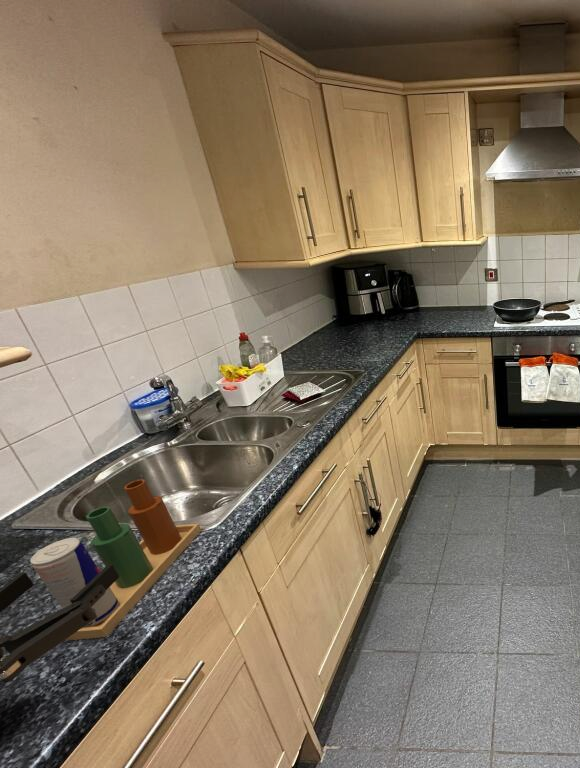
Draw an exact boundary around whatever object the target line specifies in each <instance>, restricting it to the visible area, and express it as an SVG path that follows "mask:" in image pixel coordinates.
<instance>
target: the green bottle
mask: <svg viewBox="0 0 580 768" xmlns="http://www.w3.org/2000/svg"><path fill="white" fill-rule="evenodd" d="M85 518H86V520H87V521H88V523H89V525H90V527H91V528H92V530H93V531H94V533H95V536H94V537H93V538H92V540H91V541H90V542H91V546H92V547H93V549H94V551H95V552H96V554H97V556H98V557H99V559H100V560H101V562H102V563H103V565H104V568H105V567H106V566H107V565H113V567H114V568H115V570H116V572H117V573H118V575H119V578H118V579H117V580H116V581H115V583H116V585H117V586H118V587H119V588H129V587H132V586H135V585H137V584H139V583H141V582H142V581H143V580H144V579H145V578H146V577H147V576H148V575H149V574H150V573H151V572H152V571H153V567H152V565H151V563H150V562H149V560H148V558H147V556H146V554H145V553H144V551H143V549H142V547H141V545H140V541H139V540H138V538H137V536H136V535H135V532H134V530H133V529H132V527H131V526H130V524H128V523H119V521H118V520H117V517H116V516H115V514H114V513H113V511H112V509H111V507H109V506H101V507H99V508H96V509H94V510H92V511H90V512H89V513H88V514H86V516H85Z"/></svg>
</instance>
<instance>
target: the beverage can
mask: <svg viewBox="0 0 580 768" xmlns="http://www.w3.org/2000/svg"><path fill="white" fill-rule="evenodd" d="M29 561H30V564H32V568H33V569H34V571H35V572H36V574H37V575H38V577H39V578H40V579H41V580H42V582H43V583H44V585H45V587H46V588H47V589H48V591H49V592H50V593H51V594H52V596H53V597H54V599H55V601H57V603H58V605H59V606H60V607H61V609H63V608H65V607H67V606H69V605H70V604H72V603H71V602H70V600H71V599H72V598H73V597H74V596H75V595H76V594H77V593H78V592H79V591H80V590H82V589H83V588H84V587H85V586H86V585H87V584H88V583H89V582H90V581H91V580H92V579H93V578H94V577H95V576H96V575H98V574H99V573H100V572H101V571H100V569H99V568H98V566H97V564H96V563H95V561H94V560H93V558H92V556H91V555H90V553H89V551H88V550H87V548H86V547H85V545H84V543H82V542H81V541H80V539H79V538H77V537H69V538H64V539H60V540H57V541H55V542H53V543H50V544H48V545H46V546H44V547H43V548H41V549H39V550H38V551H37V552H36V553H34V554H33V555H32V556H31V558H30V560H29ZM118 605H119V601H118V599H117V598H116V596H115V595H114V593H113V591H112V590H111V588H110V587H109V588H108V589H107V590H106V592H105V594H104V595H103V596H102V597H101V598H100V599H99V600H98V601H97V602H96V603H95V604H94V605H93V606H92V609H93V610H94V612H95V614H96V615H97V617H96V618H95V619H94V620H93V621H91V622H90V623H88V624H87V625H86V626H84V627H83V628H87V627H92V626H94V625H97V624H99V623H100V622H102V621H104V620H105V619H107V618H108V617H109V616H111V615H112V614H113V613H114V611H115V610H116V609H117V607H118Z"/></svg>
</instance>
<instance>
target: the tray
mask: <svg viewBox="0 0 580 768" xmlns="http://www.w3.org/2000/svg"><path fill="white" fill-rule="evenodd" d="M175 526H176V528H177V530H178V532H179V534H180V536H181V538H182V539H181V541H180V542H179V543H178V544H177V545H176V546H175V547H174V548H173V549H172V550H170V551H168V552H165V553H162V554H157V555H153V554H151V553H150V551H149V549H148V547H147V546H146V544H145V542H144V540H143V539H142V540H141V541H139V543H140V545H141V547H142V549H143V551H144V553H145V554H146V556H147V558H148V560H149V562H150V563H151V565H152V567H153V571H152V572H151V573H150V574H149V575H148V576H147V577H146V578H145V579H144V580H143V581H142V582H141V583H139V584H137V585H135V586H132V587H129V588H119V587H118V586H117V585H116V583H115V582H114V583H113V584H112V585H111V586H110V588H111V590H112V591H113V593H114V595H115V596H116V598H117V599H118V601H119V605H118V607H117V609H116V610H115V611H114V613H113V614H112V615H111V616H109V617H108V618H107V619H105V620H104V621H102V622H100V623H99V624H97V625H94V626H92V627H87V628H81V629H80V630H78V631H77V632H75V633H74V634H73V635H71V636H70V637H68V638H67V639H65V640H64V641H67V642H68V641H77V640H78V641H79V640H86V639H97V638H98V639H100V638H107V637H108V636H109V635H110V634H111V633H112V631H114V629H115V628H116V627H117V626H118V625H119V624H120V623H121V621H122V620H123V619H124V618H125V617H126V616H127V615H128V614H129V613H130V611H131V610H132V609H133V608H134V607H135V606H136V605H137V604H138V602H139V601H140V600H141V599H142V598H143V597H144V596H145V595H146V594H147V592H148V591H149V590H150V589H151V588H152V587H153V585H154V584H155V583H157V581H158V580H159V579H160V578H161V577H162V575H164V573H165V572H166V571H167V570H168V569H169V568H170V566H171V565H172V564H174V562H175V561H176V560H177V559H178V558H179V557H180V556H181V554H182V553H183V552H185V550H186V549H187V548H188V546H190V545H191V543H192V542H193V541H194V540H195V539H196V538H197V537H198V535H199V534H200V533H201V532H202V531H203V530H202V527H201V525H200V523H190V524H177V525H176V524H175ZM64 641H63V642H64Z"/></svg>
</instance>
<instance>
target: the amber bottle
mask: <svg viewBox="0 0 580 768" xmlns="http://www.w3.org/2000/svg"><path fill="white" fill-rule="evenodd" d="M124 491H125V493H126V495H127V497H128V498H129V500H130V503H131V504H132V505H131V506H130V507H129V508H128V510H127V512H128V514H129V516H130V518H131V520H132V522H133V524H134V526H135V527H136V529H137V531H138V533H139V535H140V537H141V539H142V540H144V542H145V544H146V546H147V547H148V549H149V551H150V553H151V554H153V555H157V554H162V553H165V552H168V551H170V550H172V549H173V548H174V547H175V546H176V545H177V544H178V543H179V542H180V541H181V539H182V538H181V536H180V534H179V532H178V530H177V528H176V524H175V522H174V520H173V518H172V516H171V513H170V512H169V509H168V508H167V506H166V503H165V502H164V500H163V498H162V496H159V495H155V496H153V493H152V492H151V490H150V488H149V485H148V484H147V482H146V480H145V479H135V480H133V481H131V482H128V483H127V484H126V485H124Z"/></svg>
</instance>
